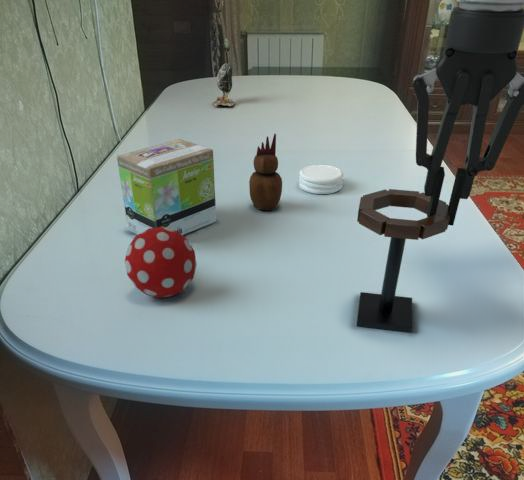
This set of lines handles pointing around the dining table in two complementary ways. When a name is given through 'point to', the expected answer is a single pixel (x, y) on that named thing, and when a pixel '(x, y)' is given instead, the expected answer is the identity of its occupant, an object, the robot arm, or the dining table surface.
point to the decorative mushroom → (160, 262)
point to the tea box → (168, 187)
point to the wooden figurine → (266, 178)
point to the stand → (387, 298)
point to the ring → (402, 226)
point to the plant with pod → (225, 80)
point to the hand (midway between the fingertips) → (439, 219)
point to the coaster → (321, 179)
